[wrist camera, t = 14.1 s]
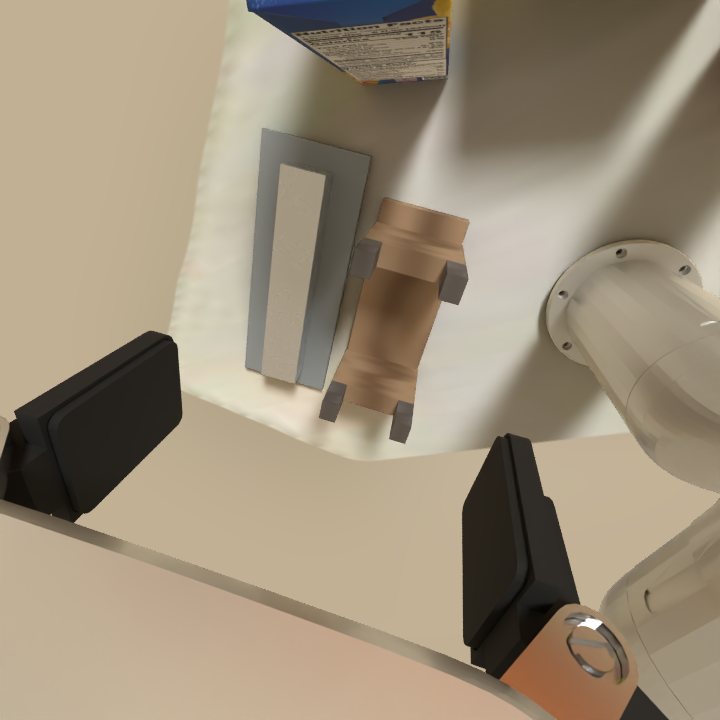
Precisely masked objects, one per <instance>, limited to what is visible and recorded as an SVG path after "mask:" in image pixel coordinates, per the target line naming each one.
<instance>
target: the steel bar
mask: <svg viewBox="0 0 720 720" xmlns="http://www.w3.org/2000/svg"><path fill="white" fill-rule="evenodd" d="M333 179H334V173H333V172H329V171H325V170H321V169H318V168H314V167H310V166H306V165H302V164H298V163H295V162H289V163H282V164H280V174H279V185H278V196H277V207H276V218H275V229H274V240H273V251H272V261H271V272H270V283H269V294H268V305H267V316H266V327H265V338H264V349H263V360H262V370H261V374H262V375H265V376H269V377H272V378H276V379H279V380H282V381H286V382H289V383H293V384H295V382H296V381H297V379H298V377H299V376H300V374H301V372H302V371H303V366H304V359H305V353H306V347H307V341H308V334H309V328H310V322H311V316H312V309H313V303H314V297H315V291H316V285H317V278H318V272H319V266H320V260H321V253H322V247H323V241H324V235H325V228H326V222H327V216H328V210H329V204H330V197H331V191H332V185H333Z"/></svg>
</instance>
